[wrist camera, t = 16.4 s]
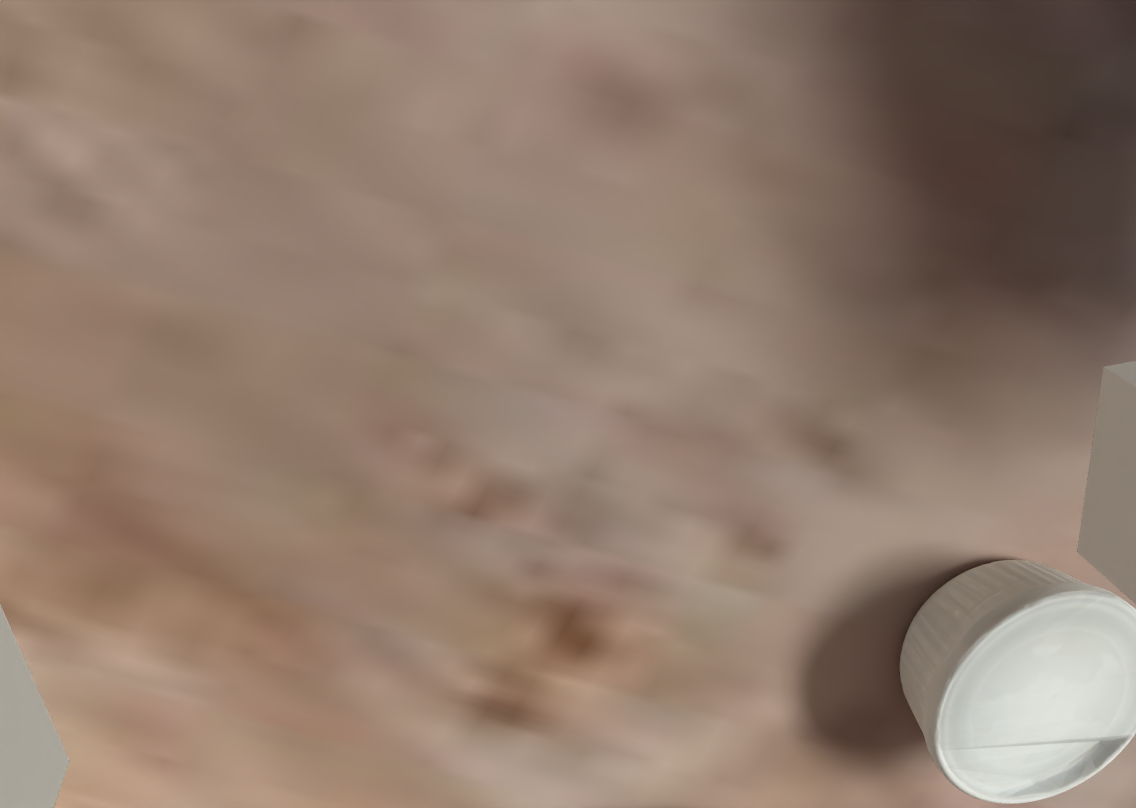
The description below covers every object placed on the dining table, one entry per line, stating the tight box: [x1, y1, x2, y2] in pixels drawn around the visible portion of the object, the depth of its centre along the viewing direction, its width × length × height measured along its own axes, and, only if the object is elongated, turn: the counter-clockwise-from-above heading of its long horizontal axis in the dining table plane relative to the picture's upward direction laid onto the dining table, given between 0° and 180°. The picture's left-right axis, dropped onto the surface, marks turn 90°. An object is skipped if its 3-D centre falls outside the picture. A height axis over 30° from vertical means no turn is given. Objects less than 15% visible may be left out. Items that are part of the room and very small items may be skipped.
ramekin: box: [900, 560, 1136, 804], centre depth 48 cm, size 11×11×5 cm
